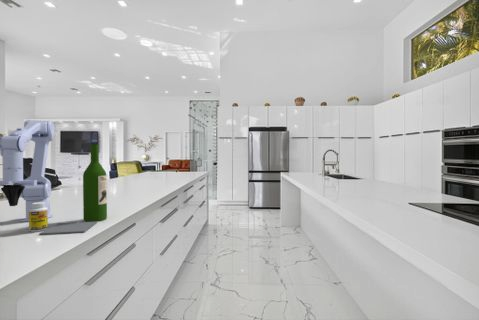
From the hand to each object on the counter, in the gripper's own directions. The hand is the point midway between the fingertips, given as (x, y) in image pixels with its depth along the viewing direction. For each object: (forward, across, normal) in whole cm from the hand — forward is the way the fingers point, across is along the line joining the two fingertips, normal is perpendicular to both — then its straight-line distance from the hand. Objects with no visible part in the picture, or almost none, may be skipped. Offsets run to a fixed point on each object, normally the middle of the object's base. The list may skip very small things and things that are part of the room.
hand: (13, 205), depth 97 cm
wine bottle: (+10, +23, +13) cm, 29 cm away
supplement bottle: (+10, +8, 0) cm, 13 cm away
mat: (+10, +19, 0) cm, 21 cm away
